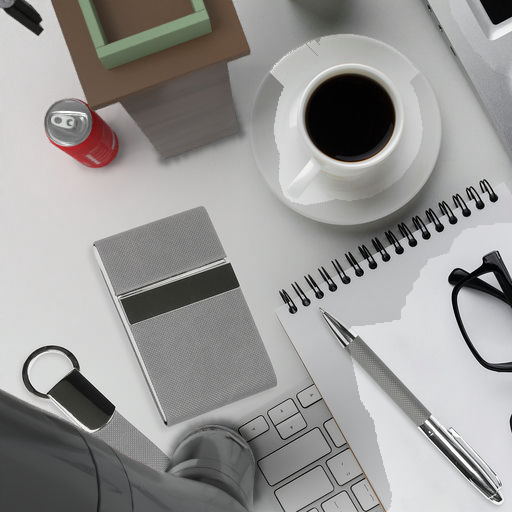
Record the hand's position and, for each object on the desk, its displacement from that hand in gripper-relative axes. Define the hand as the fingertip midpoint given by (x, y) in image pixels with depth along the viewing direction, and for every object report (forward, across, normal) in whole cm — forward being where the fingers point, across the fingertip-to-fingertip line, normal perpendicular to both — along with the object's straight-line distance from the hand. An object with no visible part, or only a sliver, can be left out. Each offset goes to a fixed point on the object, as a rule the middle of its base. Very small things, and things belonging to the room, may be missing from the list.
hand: (2, 67), depth 54 cm
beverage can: (+22, -4, +7) cm, 24 cm away
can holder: (-1, +11, -8) cm, 14 cm away
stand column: (+25, +6, +3) cm, 26 cm away
